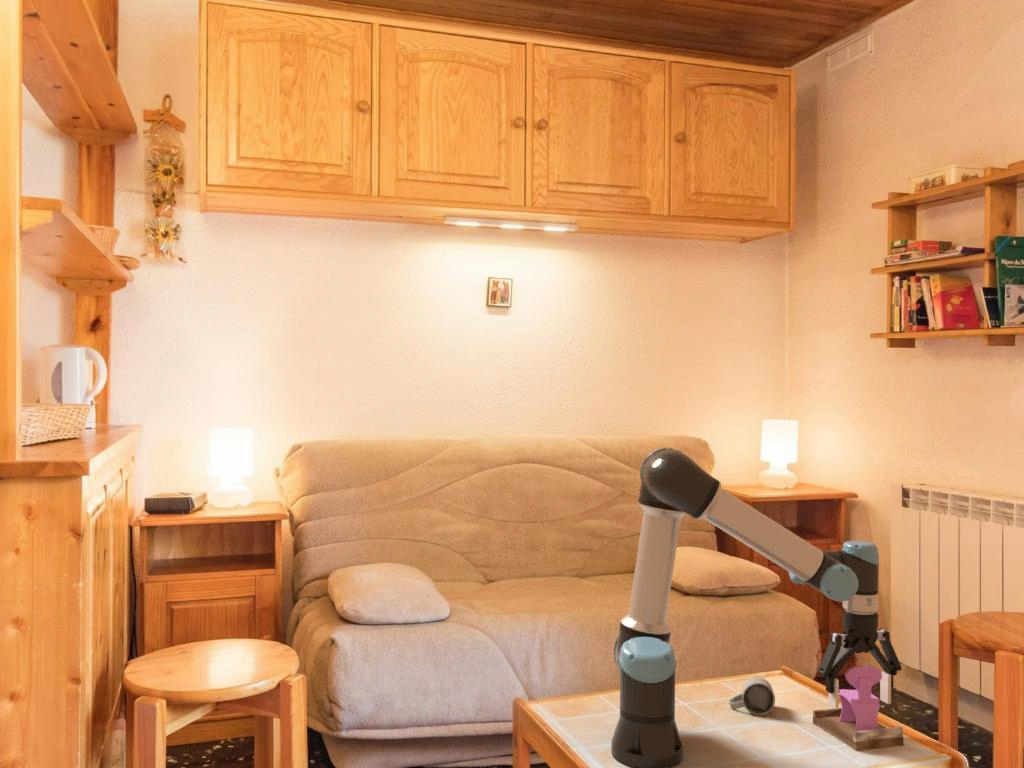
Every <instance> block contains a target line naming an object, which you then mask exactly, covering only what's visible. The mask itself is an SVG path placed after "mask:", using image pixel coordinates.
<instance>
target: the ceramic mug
mask: <svg viewBox="0 0 1024 768" xmlns="http://www.w3.org/2000/svg"><path fill="white" fill-rule="evenodd" d="M741 692H742V693H739V694H737V695H735V696H733V697H731V698H730V699H729V700H728V704H729V707H730V708H731V709H733V710H735V709H740V708H741V709H742V708H745V709H746V711H747V712H749V713H750V714H751V715H754V716H755V715H756V716H764V715H767V714H769V713H771V712H772V710H773V709H774V707H775V705H776V695H775V693H774V690H773V687H772V685H771V683H770V682H769V681H768V680H767V679H765V678H763V677H761V676H752V677H749V678H748V679H747V680H745V682H744V683H743V686H742V691H741Z"/></svg>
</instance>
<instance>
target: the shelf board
mask: <svg viewBox="0 0 1024 768" xmlns="http://www.w3.org/2000/svg"><path fill="white" fill-rule="evenodd" d="M841 711H842V707H839V709H834V708H828V709H817V710H813V713H812V714H813V715H812V723H813V725H815V724H816V726H817V727H818V726H819V727H818V728H819V729H821V728H822V729H821V730H823V729H824V730H823V731H825V732H826V733H827V734H829V733H830V734H829V735H831V736H832V735H833V737H834V736H835V737H836V739H837V738H838V741H840V740H841V743H843V742H844V743H843V744H845V743H846V744H847V746H848V745H849V746H848V747H850V748H851V747H852V748H851V749H852V750H855V751H856V752H857V751H866V749H867V750H874V749H882V748H892V747H902V746H904V730H903V729H904V728H903V727H902V726H893V727H892V726H891V727H886V726H884V725H883V724H881V723H879V722H878V726H879V728H880V729H871V730H862V731H855V728H856V722H840V721H839V719H840V716H841ZM835 737H834V738H835ZM846 744H845V745H846Z"/></svg>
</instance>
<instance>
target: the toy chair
mask: <svg viewBox="0 0 1024 768" xmlns="http://www.w3.org/2000/svg"><path fill="white" fill-rule="evenodd" d="M844 676H845V680H846V681H847V682H848V684H849V685H850V686H852V687H853V688H855V689H846V688H845V689H843V688H842V689H840V688H839V699H840V705H841V708H842V711H841V716H840V719H839V721H840V722H856V728H855V731H862V730H871V729H880V728H879V726H878V723H879V722H878V716H879V711H880V708H881V705H880V698H878V697H877V696H876V695H874V694H873V693H872V687H873V686H875V685H876V684H879V682H880V680H881V679H882V671H881V669H879V667H877V666H875V665H870V664H861V665H856V666H853V667H851V668H848V669H847V670H845V674H844Z"/></svg>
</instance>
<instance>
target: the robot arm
mask: <svg viewBox="0 0 1024 768" xmlns="http://www.w3.org/2000/svg"><path fill="white" fill-rule="evenodd" d="M639 477H640V480H641V481H640V489H639V493H638V495H639V496H638V506H639V507H640V508H641V510H642V512H643V513H642V520H641V528H640V533H639V534H640V535H639V541H638V545H637V546H638V548H637V554H636V560H635V566H634V567H635V568H634V574H633V581H632V587H631V594H630V601H629V608H628V613H627V614H626V615H624V616H623V617H621V618H620V623H619V631H618V635H617V638H616V640H615V642H614V645H613V658H614V662H615V665H616V669H617V671H618V675H619V718H618V721H617V724H616V727H615V730H614V732H613V735H612V738H611V755H612V757H613V758H614V759H615V760H616V761H618V762H620V763H622V764H624V765H627V766H630V767H633V768H671V767H674V766H676V765H678V764H680V763H681V762H682V761H683V758H684V746H683V742H682V738H681V736H680V733H679V730H678V729H679V728H678V726H677V723H676V714H675V710H676V669H677V668H676V667H677V660H676V653H675V650H674V648H673V646H672V645H671V644H670V642H671V641H670V640H671V634H672V628H671V627H670V625H669V624H668V622H667V616H668V607H669V602H670V601H669V600H670V596H671V595H670V594H671V588H672V581H673V575H674V567H675V561H676V554H677V547H678V542H679V535H680V527H681V520H682V519H683V517H684V516H685V515H688V516H690V517H692V518H693V519H695V520H701V519H702V520H703V519H704V520H706V521H707V522H708V523H710V524H711V525H714V526H715V527H717V528H718V529H720V530H721V531H723V532H724V533H726V534H727V535H729V536H731V537H733V538H734V539H736V540H737V541H739V542H740V543H742V544H744V545H745V546H747V547H748V548H751V549H752V550H754V551H755V552H756V553H758V554H760V555H761V556H763V557H764V558H766V559H768V560H769V561H771V562H772V563H774V564H776V565H777V566H779V567H780V568H782V569H784V570H786V571H787V572H788V576H789V579H790V580H791V582H792V583H794V584H801V585H803V586H805V585H808V586H811V587H812V588H814V589H815V590H817V591H818V592H820V593H822V594H823V596H825V597H826V598H828V599H829V600H832V601H835V602H840V603H841V602H842V608H843V610H842V627H843V632H842V633H836V632H833V631H832V632H831V633H830V639H829V643H828V645H827V648H826V650H825V653H824V655H823V657H822V660H821V662H820V665H819V666H818V669H817V673H818V674H819V675H820V676H822V677H823V678H824V677H825V691H826V693H828V694H827V696H828V699H827V700H828V701H827V702H828V703H827V704H828V706H830V708H832V709H839V708H840V705H839V703H840V701H839V699H840V697H839V693H840V685H839V684H840V683H839V682H840V680H839V678H837V677H838V675H839V674H840V673H841V671H842V669H843V668H844V667H845V665H846V664H847V662H848V661H849V659H850V658H851V657H853V656H854V655H855V654H862V653H866V654H867V653H870V654H871V656H872V657H873V658H874V660H875V661H876V662H877V664H879V666H880V667H881V669H882V670H883V671H881V672H882V679H881V680H880V681H879V682H880V683H879V686H880V687H879V688H880V689H879V695H880V697H879V701H882V702H883V703H885V704H887V705H891V704H892V688H894V676H897V674H898V672H901V670H902V666H901V663H900V661H899V658H898V656H897V652H895V651H896V650H895V649H894V647H893V643H892V642H891V637H890V635H891V634H890V632H889V631H888V630H885V629H882V628H879V614H878V611H879V575H880V574H879V573H880V572H879V571H880V558H879V557H880V556H879V548H878V546H877V545H876V544H874V543H873V542H869V541H863V540H847V541H845V542H844V543H843V544H842V548H841V550H840V549H838V550H821V549H819V548H818V547H816V546H815V545H813V544H811V543H809V542H808V541H807V540H805V539H803V538H801V537H800V536H798V535H797V534H795V533H794V532H793V531H791V530H790V529H788V528H786V527H784V526H782V525H781V524H780V523H778V522H776V521H775V520H773V519H772V518H770V517H768V516H767V515H765V514H763V513H762V512H760V511H759V510H757V509H756V508H755V507H753V506H751V505H749V504H748V503H747V502H745V501H743V500H741V499H740V498H738V497H737V496H735V495H733V494H731V493H730V492H728V491H727V490H725V489H724V488H723V486H722V482H721V481H719V480H718V479H717V478H716V477H713V476H712V475H711V474H709V473H708V472H707V471H705V469H703V468H702V467H700V465H698V464H697V463H696V462H695V461H694V460H693V459H692V458H691V457H689V456H688V455H686V454H685V453H683V452H682V451H680V450H678V449H675V448H672V447H671V448H668V447H667V448H666V447H664V448H659V449H658V448H657V449H656V450H654V451H652V452H650V454H649V455H647V456H646V457H645V459H644V460H643V462H642V464H641V466H640V471H639ZM877 640H878V641H879V644H880V646H881V648H882V650H883V653H884V655H885V656H884V655H883V653H882V651H881V650H880V648H879V646H878V645H877V644H876V642H877Z"/></svg>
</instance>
